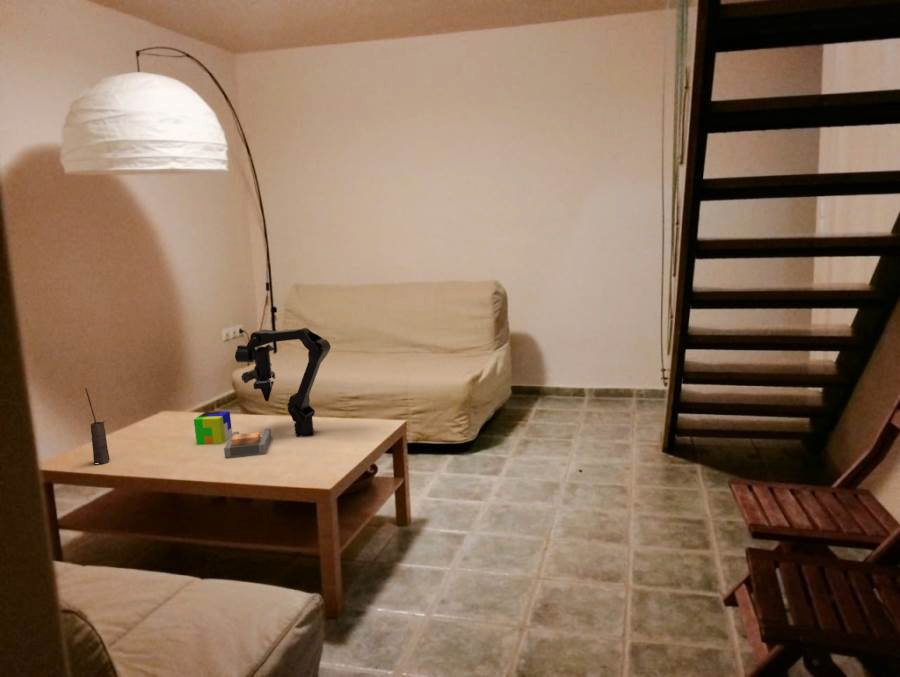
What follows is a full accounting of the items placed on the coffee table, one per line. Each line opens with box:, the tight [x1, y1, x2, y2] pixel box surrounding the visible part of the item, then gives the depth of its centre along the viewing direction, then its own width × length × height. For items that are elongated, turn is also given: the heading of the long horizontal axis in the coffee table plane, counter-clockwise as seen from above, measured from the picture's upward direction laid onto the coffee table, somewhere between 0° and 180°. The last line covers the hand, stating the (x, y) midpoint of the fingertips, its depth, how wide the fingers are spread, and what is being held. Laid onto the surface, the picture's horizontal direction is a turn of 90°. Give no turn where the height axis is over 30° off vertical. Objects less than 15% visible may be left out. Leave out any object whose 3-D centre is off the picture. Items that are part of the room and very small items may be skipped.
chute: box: [223, 428, 272, 459], centre depth 257 cm, size 14×20×4 cm
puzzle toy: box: [193, 411, 233, 445], centre depth 269 cm, size 10×10×10 cm
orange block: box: [231, 431, 261, 446], centre depth 253 cm, size 9×6×5 cm, turn 98°
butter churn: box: [84, 387, 111, 464], centre depth 249 cm, size 9×10×28 cm
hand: (267, 401), depth 272 cm, fingers closed
